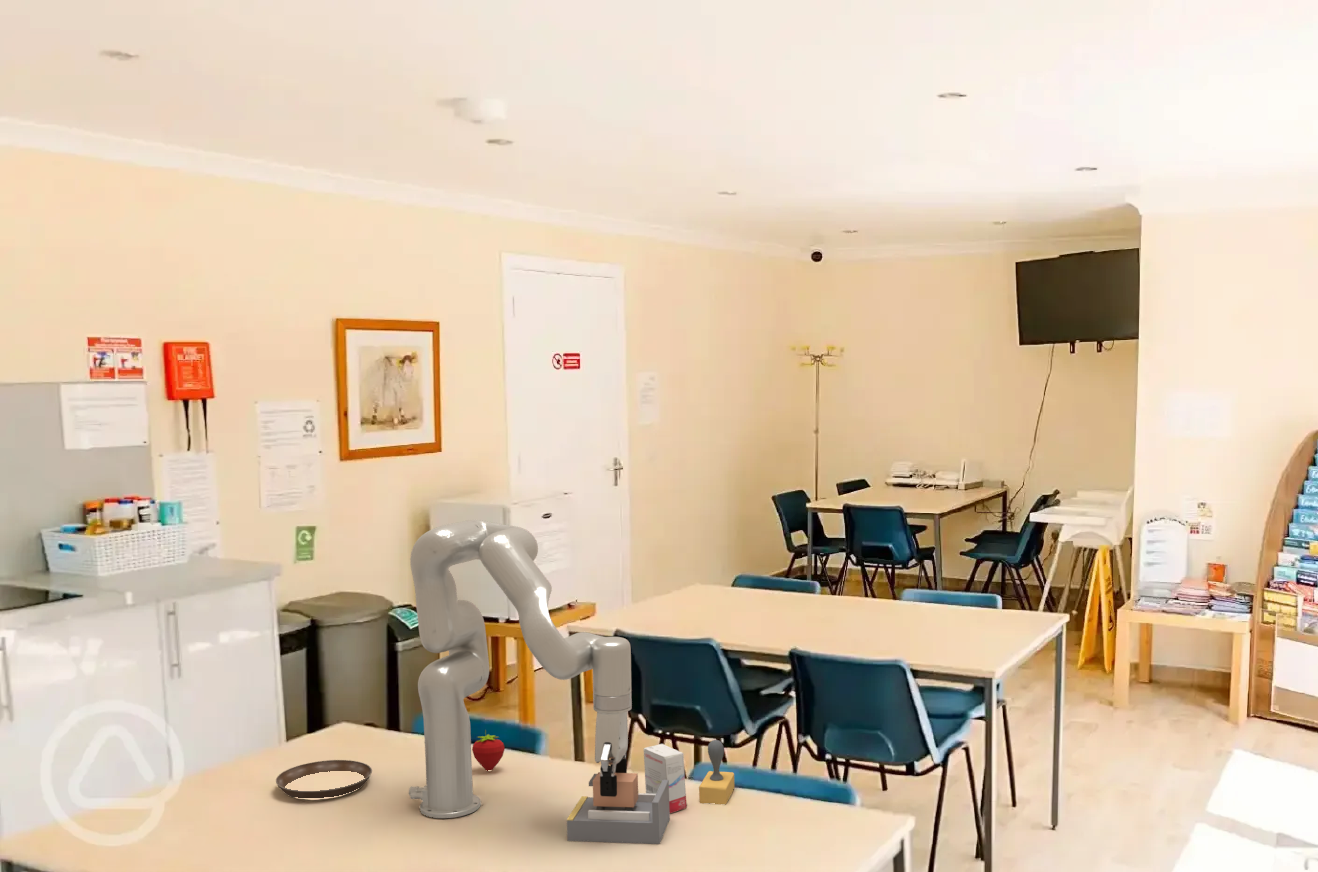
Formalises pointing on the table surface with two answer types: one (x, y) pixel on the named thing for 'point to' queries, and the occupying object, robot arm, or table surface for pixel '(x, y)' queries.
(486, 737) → the strawberry
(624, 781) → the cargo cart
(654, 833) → the loading dock
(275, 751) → the table surface
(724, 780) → the rubber stamp
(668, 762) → the ink box
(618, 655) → the robot arm
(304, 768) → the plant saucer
